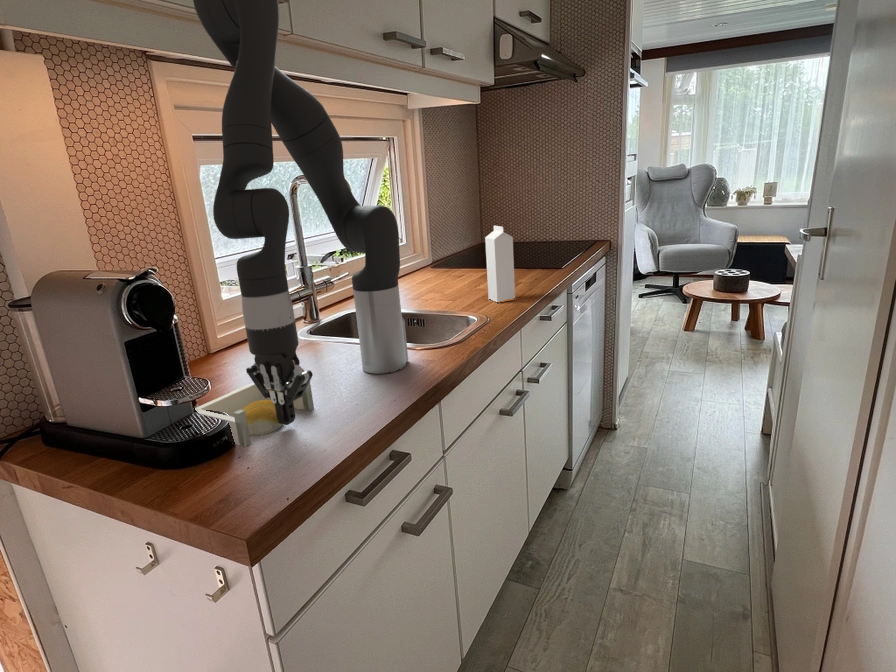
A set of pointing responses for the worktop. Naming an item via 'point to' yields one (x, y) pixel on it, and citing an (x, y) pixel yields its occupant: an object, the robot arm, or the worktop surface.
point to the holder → (237, 416)
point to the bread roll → (261, 417)
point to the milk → (500, 265)
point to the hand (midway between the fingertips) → (286, 422)
